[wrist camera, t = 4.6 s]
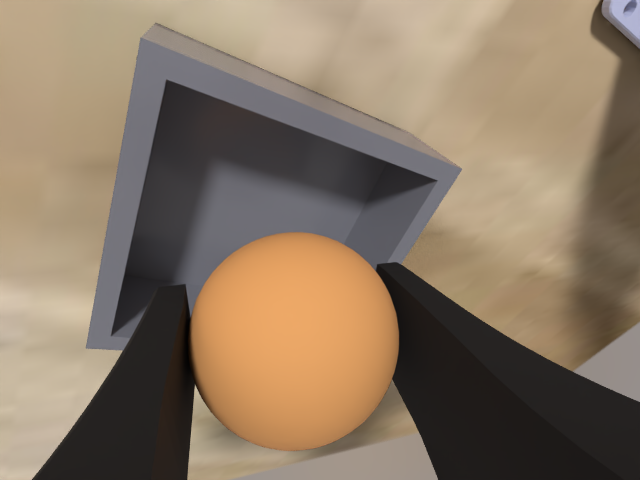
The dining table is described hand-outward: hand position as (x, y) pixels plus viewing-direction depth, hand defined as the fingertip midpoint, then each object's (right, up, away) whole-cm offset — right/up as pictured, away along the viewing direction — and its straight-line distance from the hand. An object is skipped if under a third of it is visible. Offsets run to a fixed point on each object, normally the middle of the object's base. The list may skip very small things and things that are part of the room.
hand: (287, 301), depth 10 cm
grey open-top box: (-1, +3, +4) cm, 5 cm away
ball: (0, +1, +1) cm, 1 cm away
